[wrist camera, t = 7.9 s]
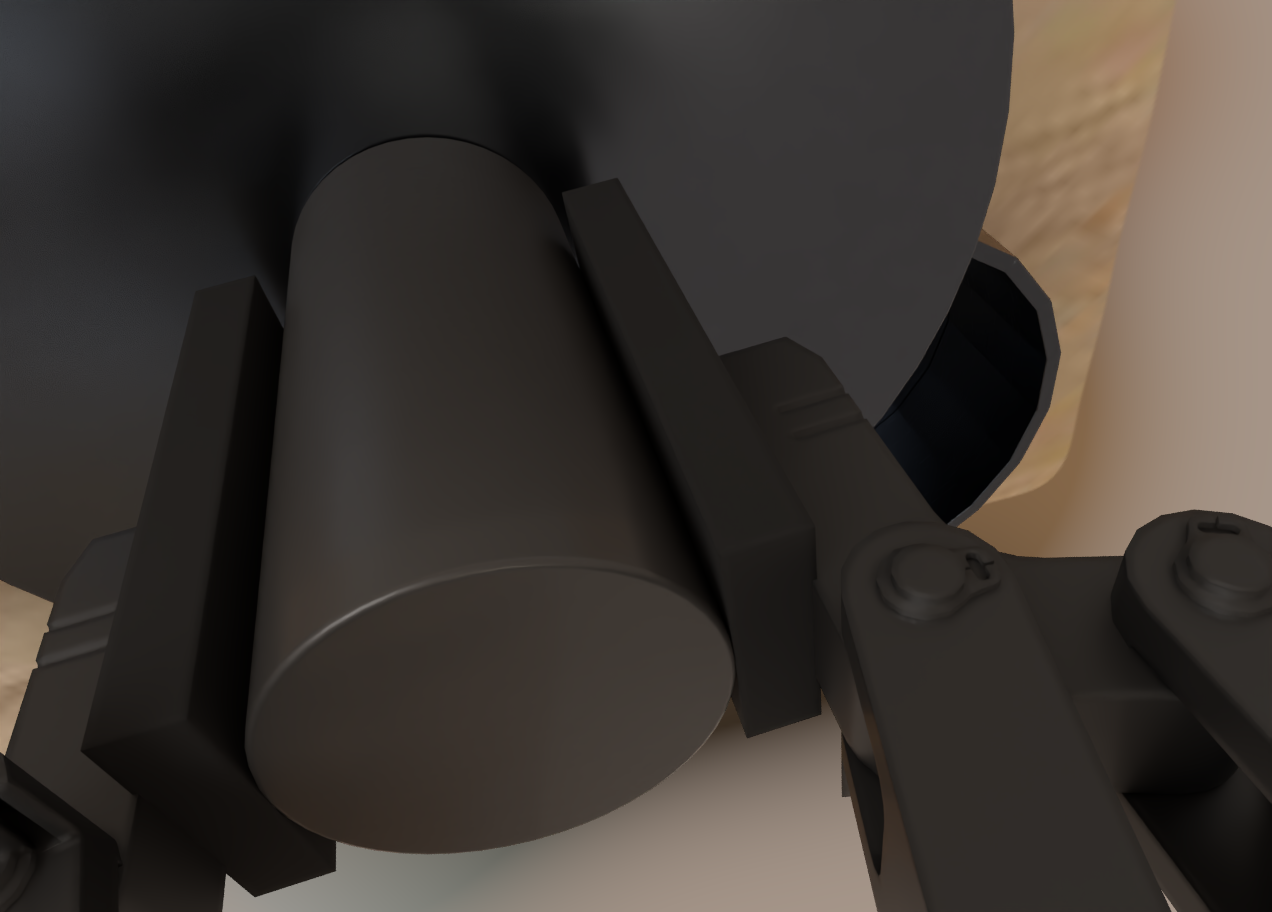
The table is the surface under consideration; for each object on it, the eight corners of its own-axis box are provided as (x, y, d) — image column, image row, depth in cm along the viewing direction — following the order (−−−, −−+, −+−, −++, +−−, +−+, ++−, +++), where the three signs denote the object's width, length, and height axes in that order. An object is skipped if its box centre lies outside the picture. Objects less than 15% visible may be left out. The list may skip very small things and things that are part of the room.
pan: (619, 528, 44) (659, 645, 39) (537, 213, 33) (576, 318, 27) (942, 430, 46) (1024, 530, 40) (977, 93, 34) (1099, 170, 28)
